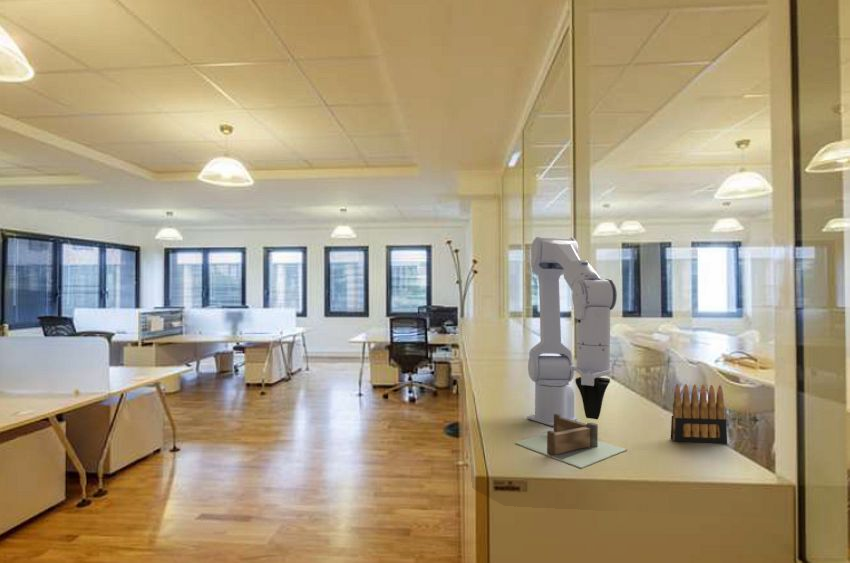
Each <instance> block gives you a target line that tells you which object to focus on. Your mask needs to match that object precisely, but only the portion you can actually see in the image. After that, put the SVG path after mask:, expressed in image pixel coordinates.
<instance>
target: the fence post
mask: <svg viewBox="0 0 850 563" xmlns="http://www.w3.org/2000/svg"><path fill="white" fill-rule="evenodd" d="M581 427H588V428H590V446H589V447H592V448H596V447H598V441H599V440H598V438H599V437H598V436H599V435H598V433H599V432H598V431H599V430H598V429H599V426H598V424H597V423H596V422H595V423H594V422H587V423H584V422H580V421H578V420H576V421H574V420H570V419H567V418H563V417H561V415H560V414H554V426H553V431H554V432H555V433H556V432H561V431H566V430H571V429H576V428H581Z"/></svg>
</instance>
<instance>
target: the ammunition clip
mask: <svg viewBox="0 0 850 563" xmlns="http://www.w3.org/2000/svg"><path fill="white" fill-rule="evenodd" d="M689 390H690V389H689V386H688V385H687V383H686V384H684V387H683V391H682V392H681V388H680V386H679V384H678V383H676V384H675V388H674V392H673V394H674V395H673V402H672V415H671V423H670V440H671V441H672V442H674V443H676V442H677V443H679V444H680V443H681V444H683V443H684V444H706V445H707V444H709V445H711V444H712V445H727V444H728V433H727V432H728V431H727V430H728V428H727V419H726V417H725V416H726V413H725V412H726V406H725V403H724V402H725V401H724V400H725V399H724V391H723V387H722V386H721V384H720V385H718V387H717V391H716V393H715V389H714V386H713V384H710V386H709V389H708V392H707V389H706V387H705V385H704V384H702V385H701V386H700V391H699V393H698V387H697V386H696V384H693V386H692V388H691V397H690V391H689ZM681 393H682V398H681ZM707 393H708V394H707ZM698 394H699V395H698Z"/></svg>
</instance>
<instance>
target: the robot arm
mask: <svg viewBox="0 0 850 563" xmlns="http://www.w3.org/2000/svg"><path fill="white" fill-rule="evenodd" d="M530 259H531V260H530V264H531V265H530V266H531V271H532V273H534V274H535V275H537V278H538V290H539V292H538V293H539V294H538V296H539V327H540V328H539V330H540V332H539V333H540V334H539V336H540V341H539V342H538V343H537V344H535V345H534V346H533V347H532V348H531V349H530V350H529V353H528V363H527V364H528V365H527V371H528V376H529V378H530V380H531V381H532V382H534V385H535V386H534V414H531V415H528V416H526V419H527V420H531V421H534V422H537V423H540V424H544V425H546V426H551V427H554V414H560V415H561V417H563V418H567V419H570V420H574V421H578V417H576V416H575V392H574V389H573V387H572V386H571V385H570V382H572V380H573V379H574V376H575V373H577V374H579V375H580V376H579V377H576V378H575V379H574V380H575V385H576V386H577V388H578V390H579V394H580V396H581V400H582V405H583V410H584V415H585V418H586V419H591V420H599V418H600V415H601V411H602V406H603V401H604V396H605V393H606V390H607V389H608V386H609V385H610V382H611V379H610V378H608V377H604V376H608V375H611V374H612V369H611V365H610V363H611V353H610V352H611V345H610V344H611V311H612V310H614V308H615V306H616V304H617V299H618V291H617V287H616V285H615V283H614V281H613V279H611V278H602V277H601V276H599V274H598V273H597V272H596V271H595V270H596V269H594V268H593V266H592V265H591V264H590V263H589V261H588V260H586V259H580V257H579V244H578V242H577V240H576V239H575V238H574V237H569V238H568V237H567V238H564V237H563V238H561V237H541V236H536V237H535V238H534V239H533V240H532V244H531V248H530ZM561 276H563V278H564V280H565V282H566V283H567V285H568V287H569V288H570V290H571V292H572V293H571V294H572V295H571V296H572V297H571V298H572V304H573V309H574V312H573V314H574V319H576V365H575V364H574V360H573V355H572V354H573V352H572V350H571V349H569V347H567V346H566V345H564V343H563V342H562V331H561V330H562V329H561V328H562V327H561V301H560V300H561V298H560V297H561V296H560V279H561ZM543 354H544V355H543ZM545 354H550V355H545ZM551 354H553V355H551Z"/></svg>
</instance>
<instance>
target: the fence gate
mask: <svg viewBox="0 0 850 563" xmlns="http://www.w3.org/2000/svg"><path fill="white" fill-rule="evenodd" d="M589 446H590V428H588V427H581V428H576V429H571V430H566V431H561V432H556V433H555V432H554V430H548V431H547V454H549V455H555V454H559V453H563V452H568V451H572V450H576V449H581V448H585V447H589Z"/></svg>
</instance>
